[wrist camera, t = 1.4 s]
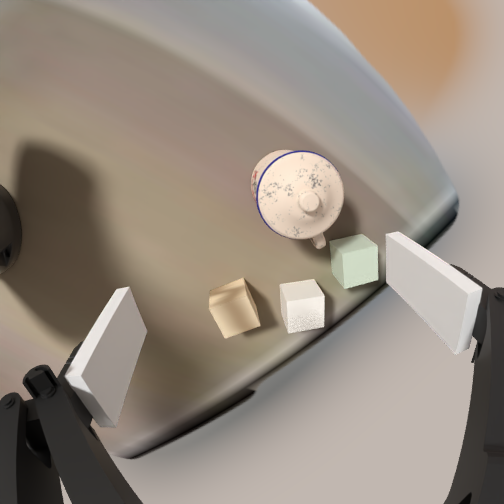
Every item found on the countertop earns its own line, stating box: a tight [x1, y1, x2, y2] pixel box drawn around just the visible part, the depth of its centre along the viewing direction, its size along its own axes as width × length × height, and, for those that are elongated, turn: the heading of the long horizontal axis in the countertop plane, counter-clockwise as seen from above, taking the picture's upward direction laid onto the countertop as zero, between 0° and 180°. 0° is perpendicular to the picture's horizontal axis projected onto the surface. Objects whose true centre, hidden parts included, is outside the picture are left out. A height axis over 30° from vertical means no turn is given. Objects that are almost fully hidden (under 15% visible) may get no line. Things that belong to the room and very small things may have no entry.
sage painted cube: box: [329, 234, 378, 289], centre depth 40 cm, size 5×5×5 cm
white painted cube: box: [280, 279, 324, 333], centre depth 42 cm, size 5×5×5 cm
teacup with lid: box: [251, 150, 344, 249], centre depth 33 cm, size 12×9×12 cm
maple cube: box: [209, 278, 261, 338], centre depth 41 cm, size 5×5×5 cm
